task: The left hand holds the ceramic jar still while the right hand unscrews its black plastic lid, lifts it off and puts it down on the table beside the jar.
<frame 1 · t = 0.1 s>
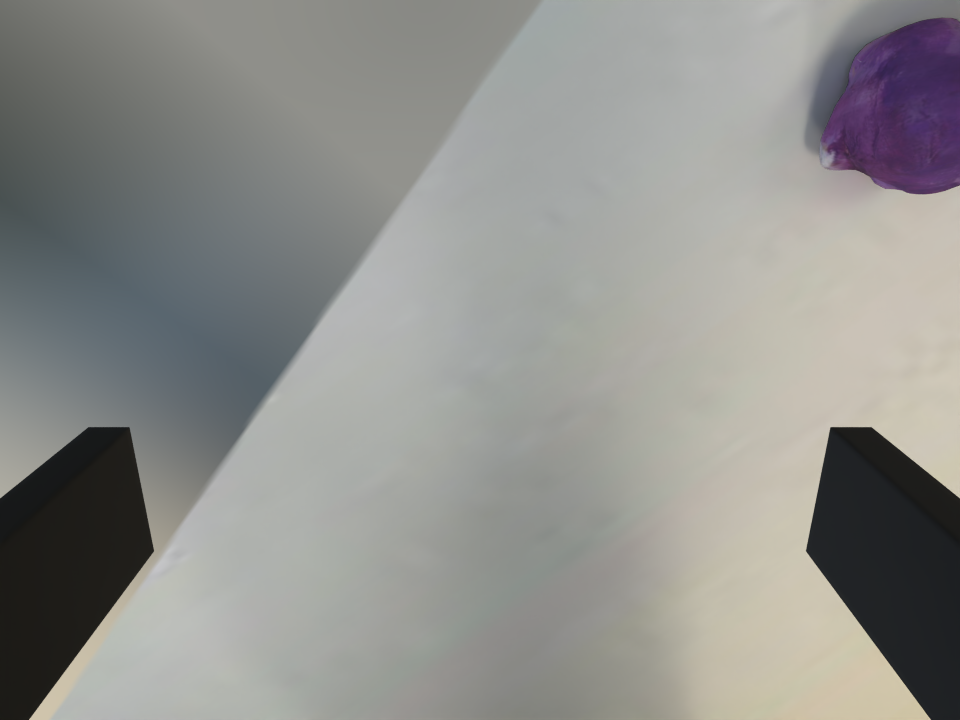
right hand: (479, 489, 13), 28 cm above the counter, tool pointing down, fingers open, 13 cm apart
figurine: (911, 91, 36), on the counter
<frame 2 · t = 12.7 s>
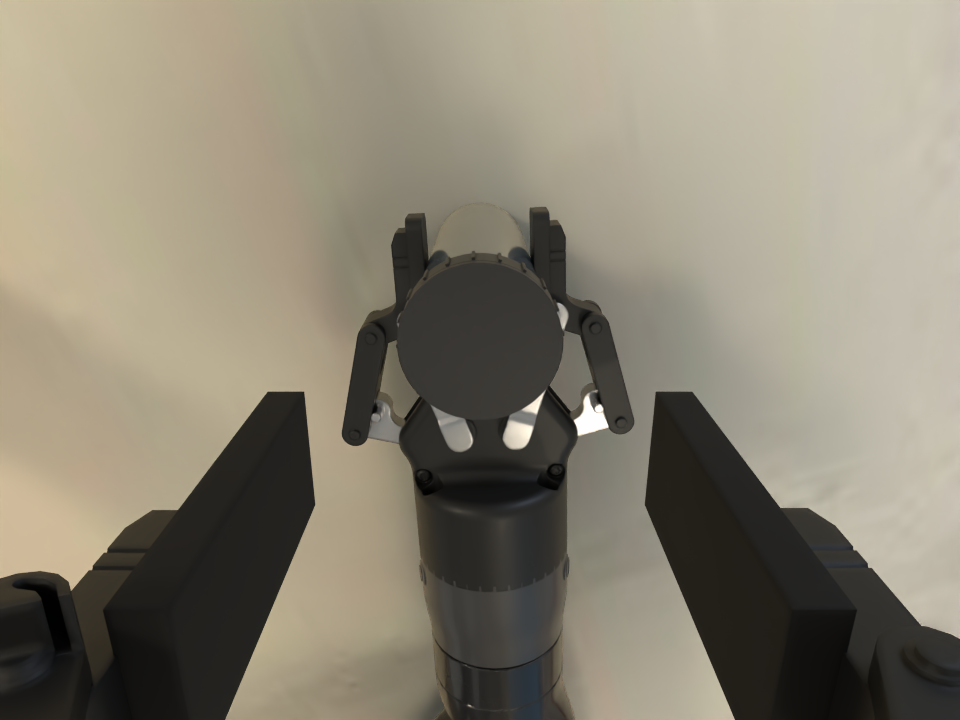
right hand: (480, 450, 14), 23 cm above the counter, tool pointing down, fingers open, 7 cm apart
left hand: (477, 214, 29), fingers closed on jar, 4 cm apart
lid: (480, 341, 21), point 16 cm above the counter, screwed on, not yet turned
jar: (480, 247, 36), on the counter, touching left hand
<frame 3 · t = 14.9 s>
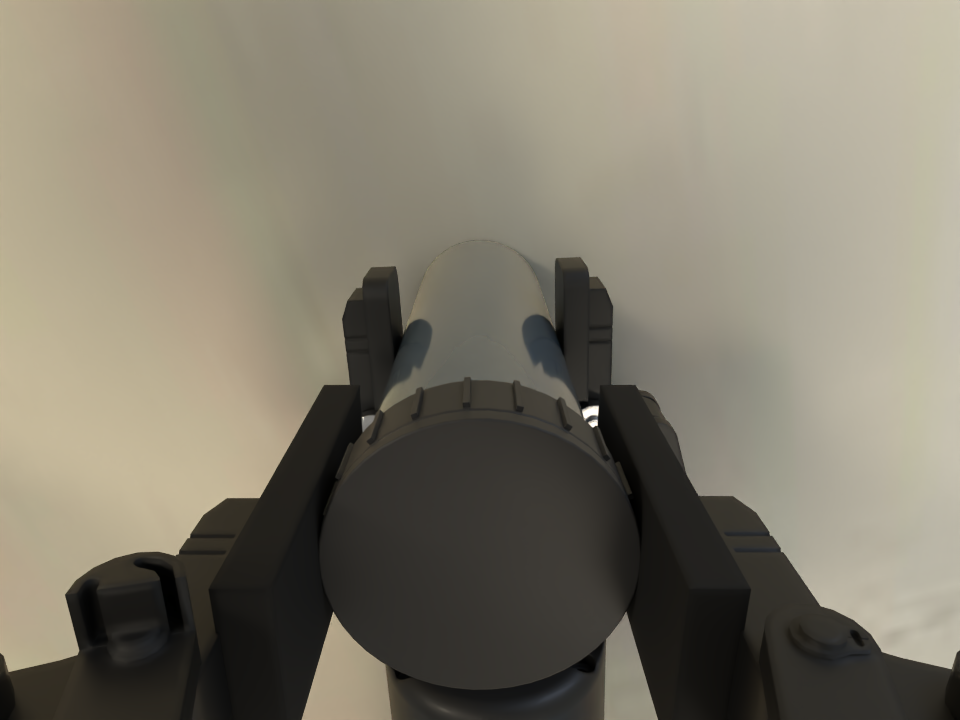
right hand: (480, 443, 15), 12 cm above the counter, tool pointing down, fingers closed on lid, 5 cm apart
lid: (479, 552, 11), point 16 cm above the counter, screwed on, not yet turned, touching right hand
jar: (479, 300, 26), on the counter, touching left hand
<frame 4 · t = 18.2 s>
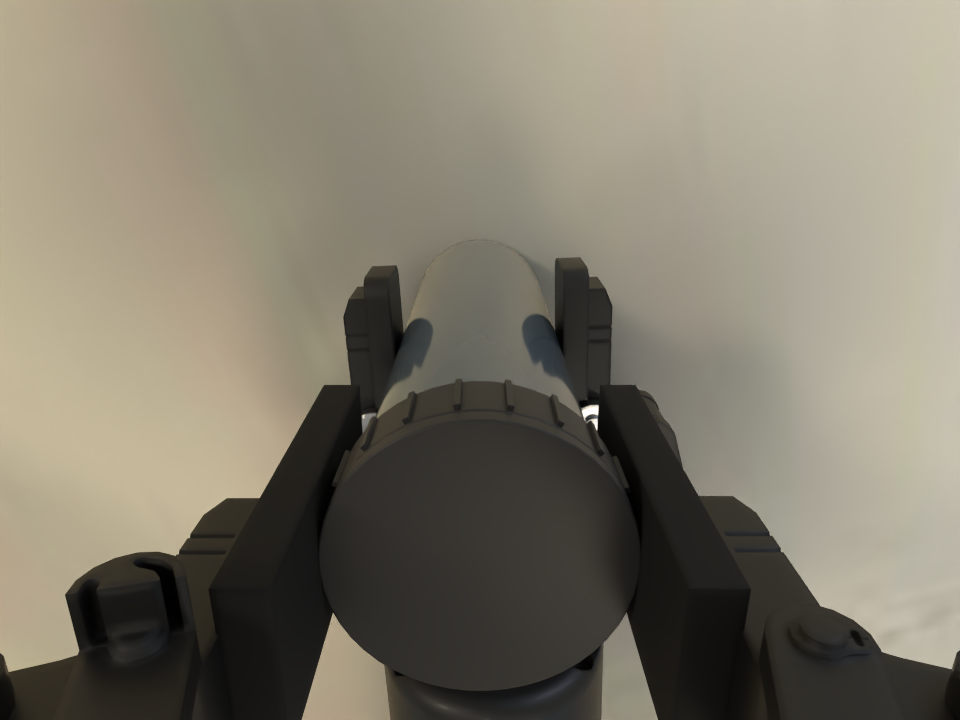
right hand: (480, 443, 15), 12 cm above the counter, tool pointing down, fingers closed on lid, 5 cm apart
lid: (479, 553, 11), point 16 cm above the counter, turned 112° so far, risen 0.1 cm, still on its thread, touching right hand
jar: (479, 300, 26), on the counter, touching left hand
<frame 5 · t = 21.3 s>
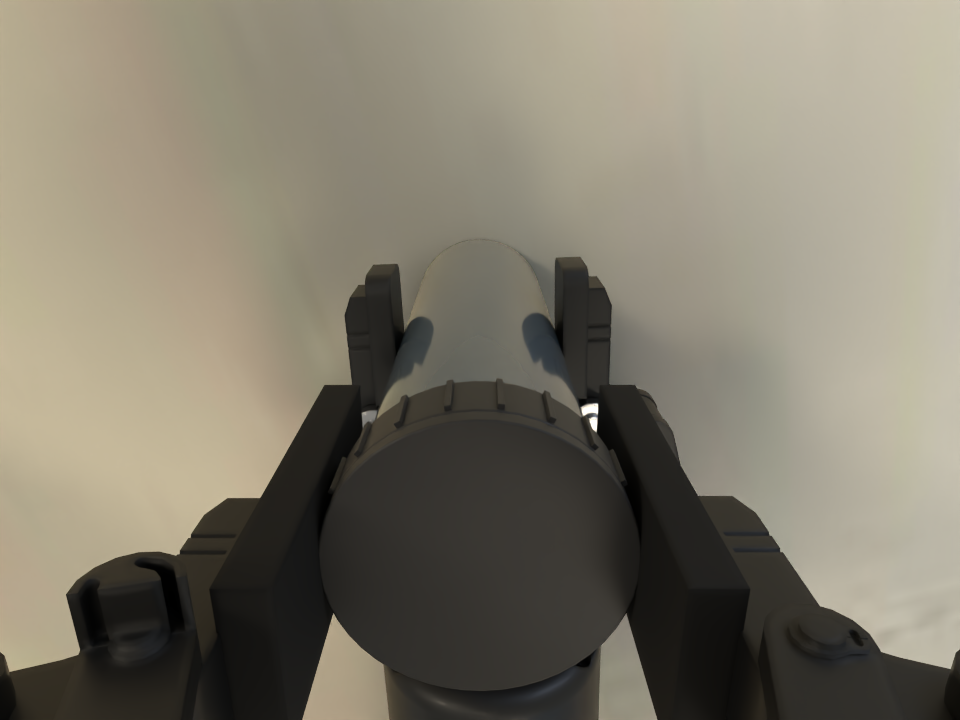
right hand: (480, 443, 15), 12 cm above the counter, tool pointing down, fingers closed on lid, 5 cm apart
lid: (479, 553, 11), point 16 cm above the counter, turned 223° so far, risen 0.3 cm, still on its thread, touching right hand
jar: (479, 299, 26), on the counter, touching left hand
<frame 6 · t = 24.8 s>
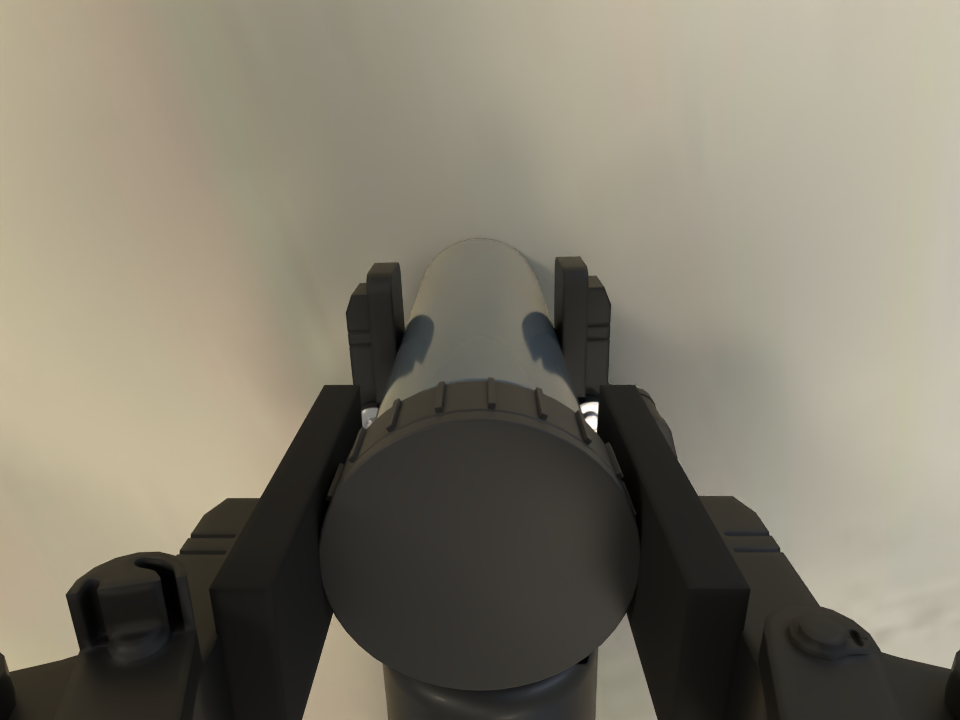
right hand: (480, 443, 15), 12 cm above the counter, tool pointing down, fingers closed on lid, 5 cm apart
lid: (479, 553, 11), point 16 cm above the counter, turned 334° so far, risen 0.4 cm, still on its thread, touching right hand
jar: (479, 298, 26), on the counter, touching left hand
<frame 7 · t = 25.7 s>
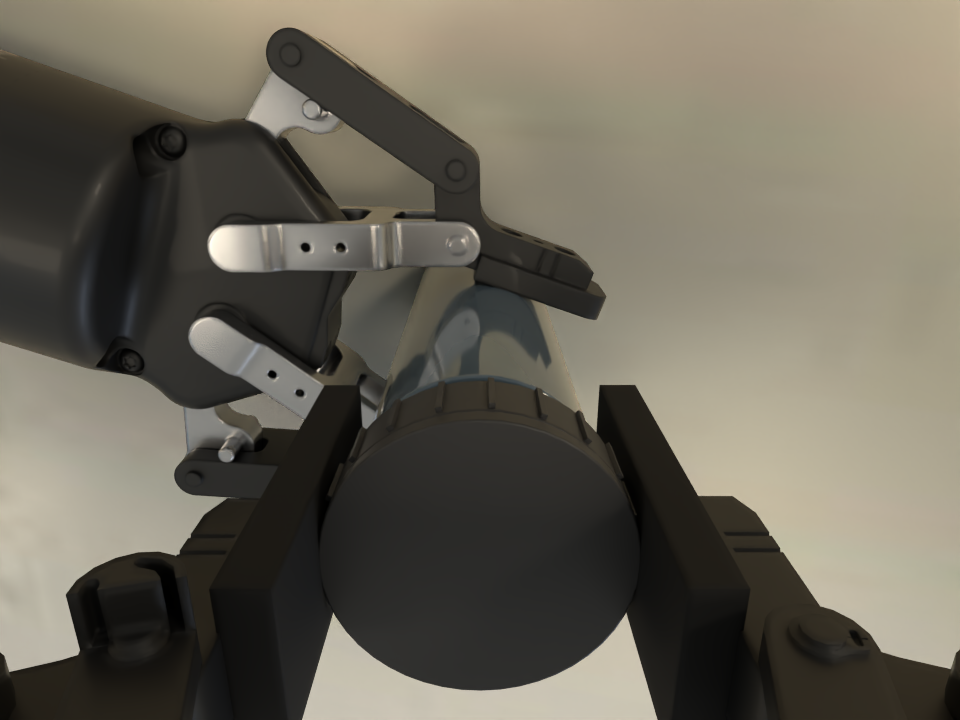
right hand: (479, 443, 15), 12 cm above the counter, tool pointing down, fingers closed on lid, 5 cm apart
lid: (479, 553, 11), point 16 cm above the counter, off its thread, touching right hand
jar: (479, 296, 26), on the counter, touching left hand
when the right hand's fingers open (0 cm above the counter, at t = 31.8 s): lid drops 2 cm, point 1 cm above the counter.
when the left hand's fingers open (7 cm above the counter, at t = 32.4 s): jar stays where it is, on the counter.
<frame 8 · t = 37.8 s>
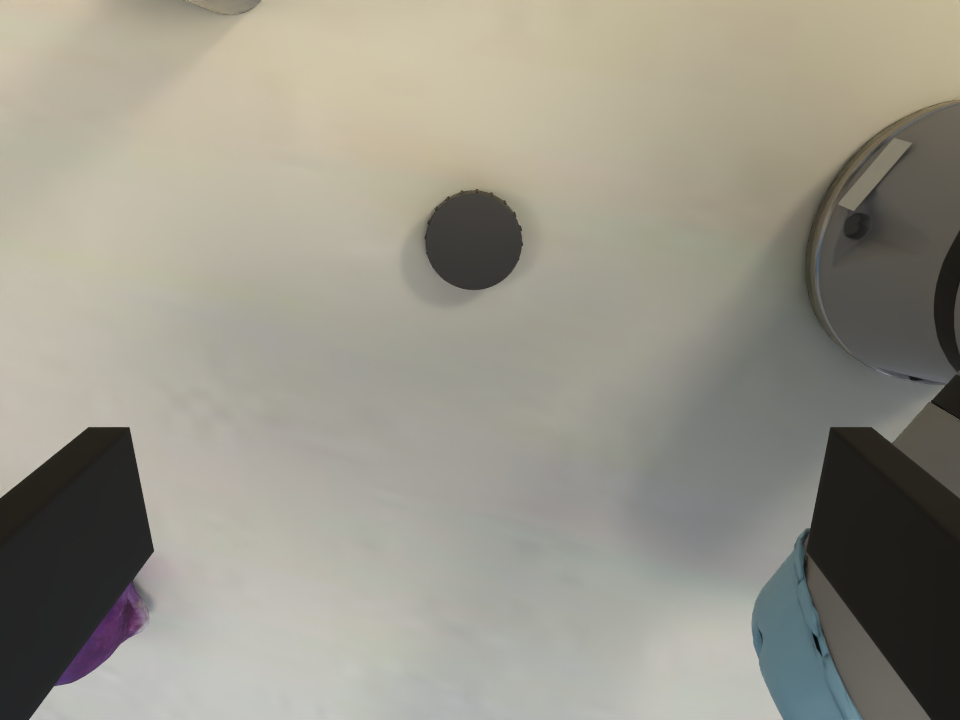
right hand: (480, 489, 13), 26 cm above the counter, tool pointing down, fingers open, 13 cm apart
lid: (473, 241, 36), point 1 cm above the counter, off its thread
figurine: (68, 572, 45), on the counter
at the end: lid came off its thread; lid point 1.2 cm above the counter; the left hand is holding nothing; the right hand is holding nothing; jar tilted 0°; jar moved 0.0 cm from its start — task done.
